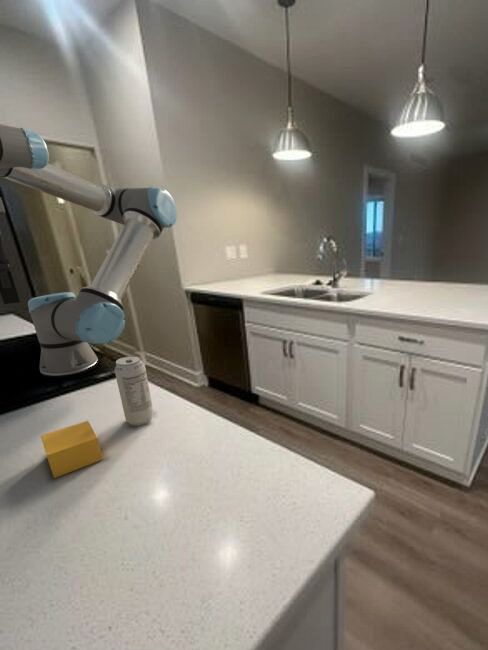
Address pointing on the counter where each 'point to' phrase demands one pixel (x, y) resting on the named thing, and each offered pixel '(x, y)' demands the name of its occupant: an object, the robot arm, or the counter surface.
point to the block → (71, 448)
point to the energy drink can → (134, 390)
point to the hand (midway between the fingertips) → (10, 298)
